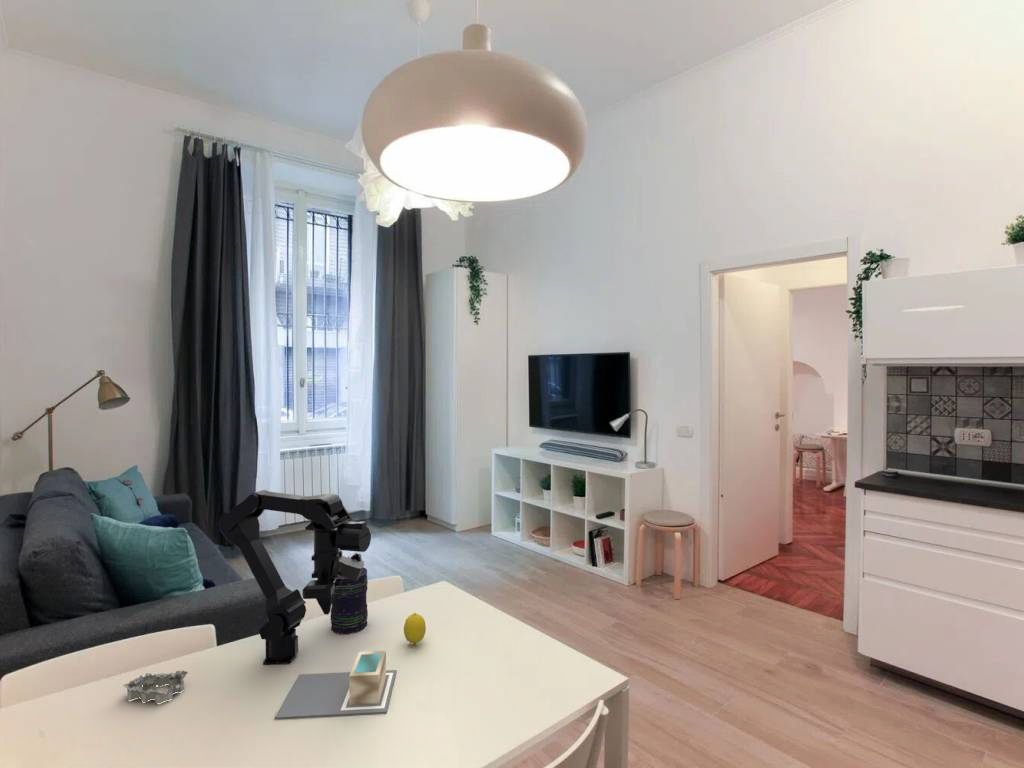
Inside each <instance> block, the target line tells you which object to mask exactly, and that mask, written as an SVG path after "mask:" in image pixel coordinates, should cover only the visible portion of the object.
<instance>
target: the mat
mask: <svg viewBox="0 0 1024 768" xmlns="http://www.w3.org/2000/svg"><path fill="white" fill-rule="evenodd" d="M350 673H351V671H343V672H324V673H322V672H321V673H302V674H300V673H299V674H298V676H297V678H296V680H294V683H293V684H292V686H291V688H290V690H289V691H288V694H287V695H286V697H285V698H284V700H283V702H282V704H281V705H280V707H279V709H278V711H277V713H276V714H275V716H274V720H287V719H290V720H291V719H293V720H294V719H307V718H309V719H310V718H311V719H312V718H328V717H343V716H344V717H346V716H347V717H348V716H363V715H364V716H365V715H368V716H369V715H381V714H382V715H383V714H387V712H388V708H389V705H390V701H391V696H392V692H393V688H394V683H395V680H396V675H397V669H391V670H390V669H388V670H387V669H386V679H385V683H384V686H383V690H382V694H381V697H380V701H379V703H376V704H357V705H349V676H350Z"/></svg>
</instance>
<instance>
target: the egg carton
mask: <svg viewBox="0 0 1024 768" xmlns="http://www.w3.org/2000/svg"><path fill="white" fill-rule="evenodd" d="M187 675H188V671H187V670H177V671H176V670H175V673H173V672H169V673H157V674H153V675H152V673H151V672H149V673H147V672H146V673H145V675H142V674H141V675H139V676H138V678H137V677H136V678H134V679H133V680H130V681H129V682H128V683H125V684H123V685H122V686H123V687H124V688H125V689H126V690H127V692H126V693H127V694H126V697H127V698H126V700H132V699H135V698H139V697H140V698H141V699H140V702H141V701H143V702H146V701H148V700H150V699H155V701H154V702H155V703H161V702H163V701H166V700H170V699H172V700H173V696H172V694H173V693H175V692H181V691H183V690H184V691H185V680H184V679H185V677H186V676H187ZM165 684H169V686H168V689H163V690H162V691H160V692H159V691H157V687H156V685H158V686H162V685H165ZM142 685H143V687H142ZM169 687H170V688H171V689H170V688H169ZM184 691H183V692H184ZM155 703H154V704H155Z"/></svg>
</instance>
